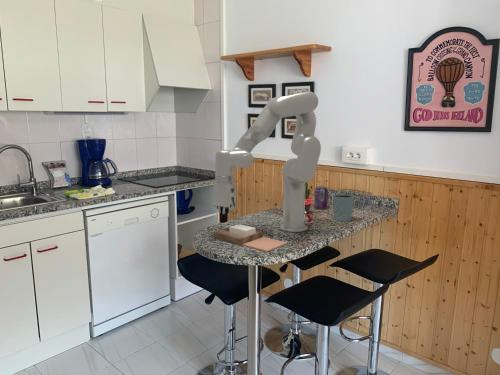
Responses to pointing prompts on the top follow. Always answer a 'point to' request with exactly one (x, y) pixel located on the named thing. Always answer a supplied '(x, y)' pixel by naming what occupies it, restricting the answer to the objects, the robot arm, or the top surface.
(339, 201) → the grey-blue bin
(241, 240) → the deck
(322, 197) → the beverage can
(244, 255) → the top surface
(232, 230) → the tile
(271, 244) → the mat
